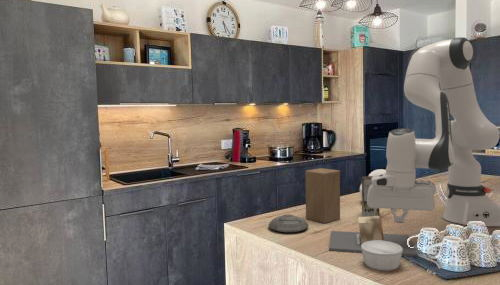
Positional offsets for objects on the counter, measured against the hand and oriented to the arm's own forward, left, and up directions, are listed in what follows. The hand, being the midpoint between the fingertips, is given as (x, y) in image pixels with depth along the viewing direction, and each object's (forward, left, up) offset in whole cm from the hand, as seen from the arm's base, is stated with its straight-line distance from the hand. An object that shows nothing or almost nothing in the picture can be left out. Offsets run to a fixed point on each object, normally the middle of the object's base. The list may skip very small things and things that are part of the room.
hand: (399, 222), depth 123 cm
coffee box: (+7, -35, -8) cm, 37 cm away
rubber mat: (+9, 0, -8) cm, 12 cm away
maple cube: (+5, 0, -3) cm, 6 cm away
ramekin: (+7, +17, -8) cm, 20 cm away
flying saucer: (+38, -12, -8) cm, 41 cm away
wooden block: (+26, -27, -8) cm, 38 cm away
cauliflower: (+1, -59, -8) cm, 60 cm away
